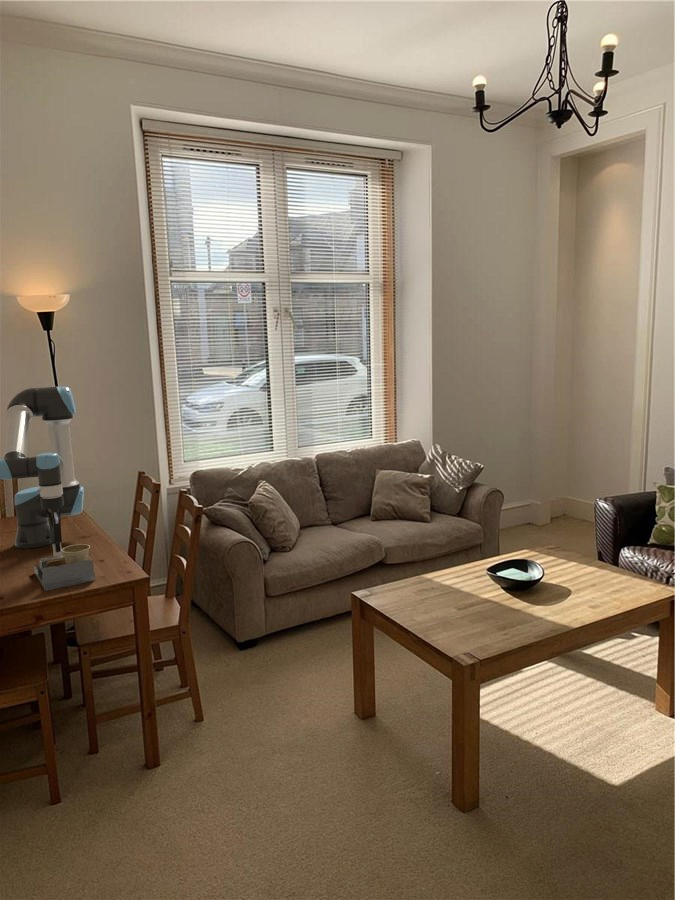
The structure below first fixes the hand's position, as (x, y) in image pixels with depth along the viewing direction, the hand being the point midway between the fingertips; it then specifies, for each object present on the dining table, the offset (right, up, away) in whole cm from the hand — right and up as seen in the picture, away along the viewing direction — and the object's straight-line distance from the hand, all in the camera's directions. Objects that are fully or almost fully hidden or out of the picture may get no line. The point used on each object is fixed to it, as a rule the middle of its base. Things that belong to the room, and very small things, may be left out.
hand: (58, 559), depth 240 cm
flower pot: (+10, -3, -7) cm, 12 cm away
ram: (+2, -2, -2) cm, 4 cm away
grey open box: (+5, -5, -6) cm, 9 cm away
